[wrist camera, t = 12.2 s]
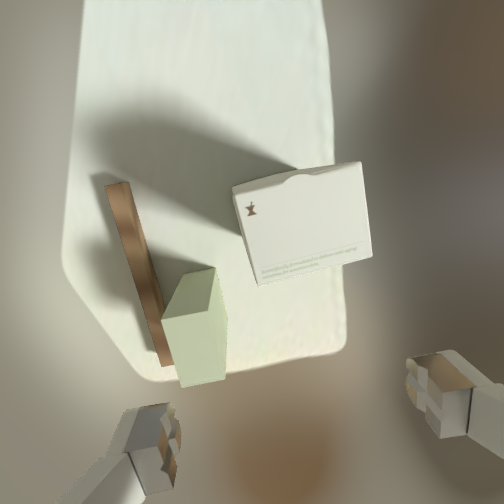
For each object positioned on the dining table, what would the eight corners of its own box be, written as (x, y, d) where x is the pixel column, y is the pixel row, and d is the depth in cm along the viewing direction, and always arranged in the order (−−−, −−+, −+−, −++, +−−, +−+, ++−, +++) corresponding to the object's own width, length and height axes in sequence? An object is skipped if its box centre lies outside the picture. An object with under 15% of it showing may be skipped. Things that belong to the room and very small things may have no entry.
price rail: (112, 185, 31) (102, 186, 29) (128, 182, 31) (120, 183, 29) (164, 354, 37) (160, 367, 35) (178, 352, 37) (174, 364, 35)
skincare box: (243, 238, 33) (251, 293, 18) (229, 182, 32) (225, 192, 17) (312, 221, 33) (376, 262, 18) (302, 164, 31) (364, 157, 16)
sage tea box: (182, 274, 34) (159, 320, 24) (215, 267, 34) (207, 310, 24) (196, 324, 36) (180, 388, 26) (227, 318, 36) (225, 379, 26)
